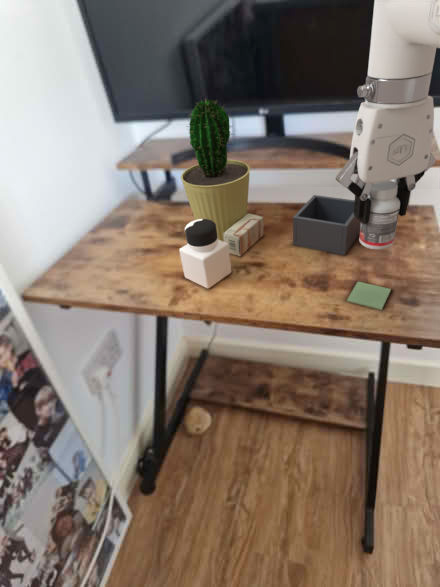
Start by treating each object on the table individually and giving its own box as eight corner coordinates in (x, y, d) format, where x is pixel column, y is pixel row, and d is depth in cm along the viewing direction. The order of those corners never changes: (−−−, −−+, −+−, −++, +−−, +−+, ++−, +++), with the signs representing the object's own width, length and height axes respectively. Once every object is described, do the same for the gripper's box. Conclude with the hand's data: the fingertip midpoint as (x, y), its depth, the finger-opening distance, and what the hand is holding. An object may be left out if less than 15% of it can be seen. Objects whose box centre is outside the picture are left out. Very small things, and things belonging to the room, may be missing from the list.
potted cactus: (218, 255, 89) (197, 111, 71) (179, 233, 100) (152, 103, 81) (267, 228, 96) (260, 91, 78) (226, 210, 106) (212, 85, 88)
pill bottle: (359, 232, 68) (365, 177, 63) (394, 234, 67) (403, 178, 61) (357, 249, 65) (363, 192, 59) (393, 251, 63) (403, 193, 57)
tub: (362, 229, 91) (365, 201, 87) (344, 255, 83) (347, 226, 79) (313, 221, 96) (313, 194, 92) (293, 245, 89) (292, 217, 85)
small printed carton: (239, 237, 85) (263, 215, 91) (222, 233, 87) (246, 212, 93) (241, 257, 88) (264, 235, 94) (224, 253, 90) (248, 231, 96)
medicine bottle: (232, 272, 83) (226, 220, 76) (208, 289, 80) (199, 236, 72) (208, 262, 88) (200, 211, 80) (184, 278, 84) (173, 226, 77)
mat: (390, 290, 73) (391, 288, 73) (381, 310, 69) (382, 308, 69) (357, 282, 76) (357, 281, 75) (347, 301, 72) (347, 299, 72)
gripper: (348, 106, 48) (338, 239, 59) (477, 82, 50) (445, 215, 61) (322, 95, 54) (317, 217, 65) (438, 73, 56) (415, 196, 67)
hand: (379, 215), depth 63 cm, fingers closed on pill bottle, 5 cm apart
